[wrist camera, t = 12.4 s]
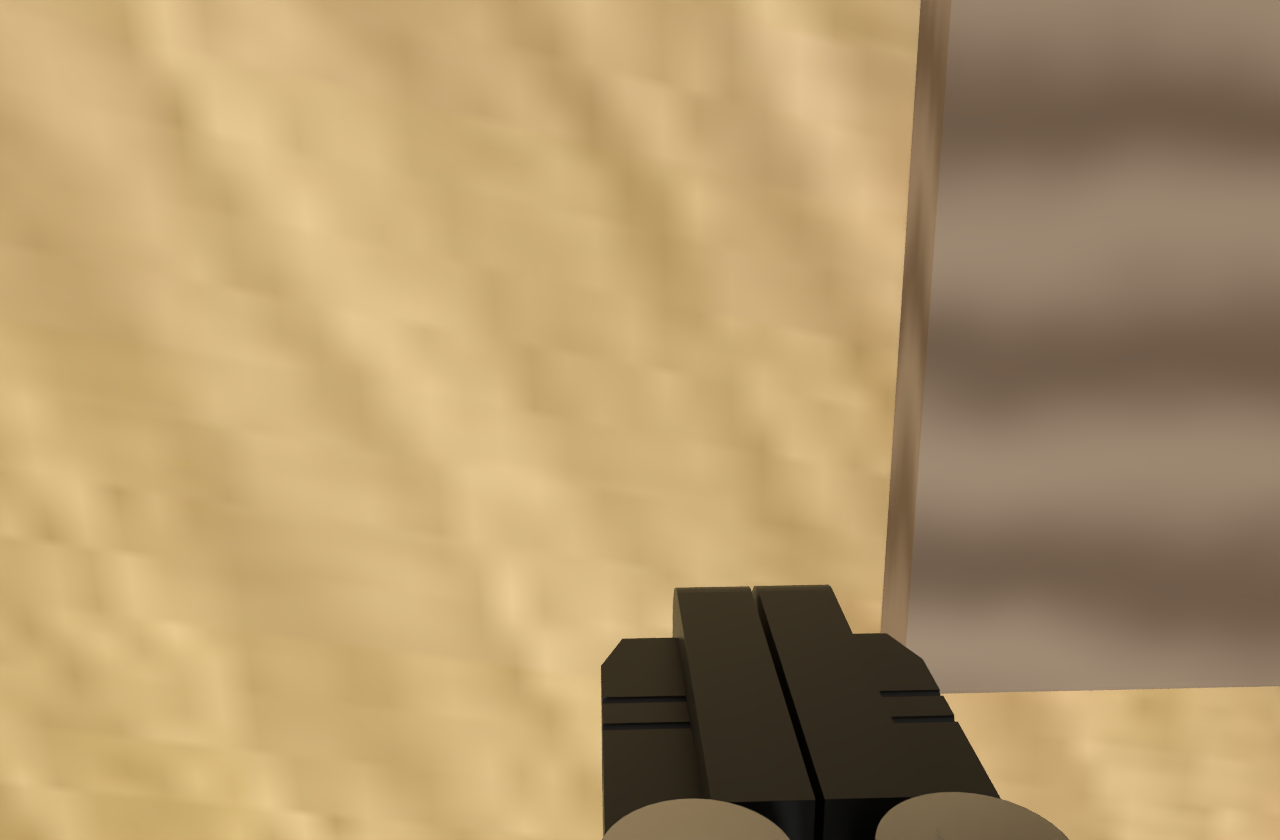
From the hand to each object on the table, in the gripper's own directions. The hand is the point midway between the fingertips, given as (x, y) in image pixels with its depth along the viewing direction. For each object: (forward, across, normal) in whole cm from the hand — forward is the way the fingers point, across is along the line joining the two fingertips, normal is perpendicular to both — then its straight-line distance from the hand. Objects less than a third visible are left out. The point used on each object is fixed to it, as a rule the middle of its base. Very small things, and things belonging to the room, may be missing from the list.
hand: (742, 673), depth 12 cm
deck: (+25, -15, +2) cm, 29 cm away
